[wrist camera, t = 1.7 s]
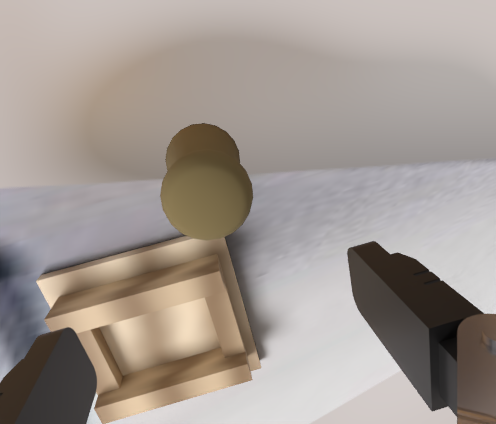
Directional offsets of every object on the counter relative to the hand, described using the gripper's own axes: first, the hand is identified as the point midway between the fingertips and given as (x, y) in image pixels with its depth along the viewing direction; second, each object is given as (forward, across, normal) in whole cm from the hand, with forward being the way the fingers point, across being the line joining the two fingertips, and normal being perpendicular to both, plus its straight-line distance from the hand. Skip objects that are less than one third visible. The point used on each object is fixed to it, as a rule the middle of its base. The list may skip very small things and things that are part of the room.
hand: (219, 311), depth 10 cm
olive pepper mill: (+20, 0, 0) cm, 20 cm away
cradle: (+20, +8, +14) cm, 26 cm away
